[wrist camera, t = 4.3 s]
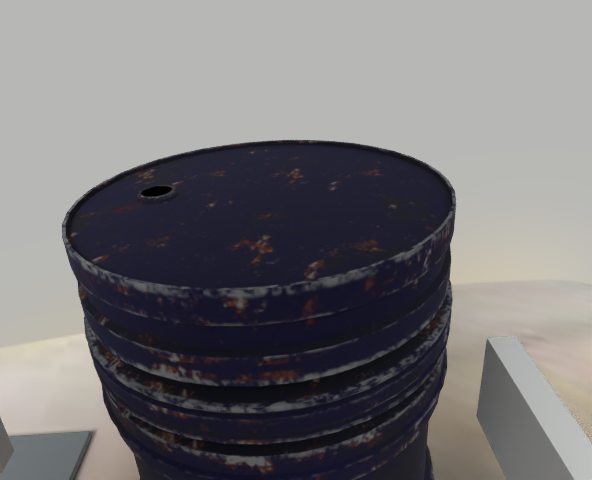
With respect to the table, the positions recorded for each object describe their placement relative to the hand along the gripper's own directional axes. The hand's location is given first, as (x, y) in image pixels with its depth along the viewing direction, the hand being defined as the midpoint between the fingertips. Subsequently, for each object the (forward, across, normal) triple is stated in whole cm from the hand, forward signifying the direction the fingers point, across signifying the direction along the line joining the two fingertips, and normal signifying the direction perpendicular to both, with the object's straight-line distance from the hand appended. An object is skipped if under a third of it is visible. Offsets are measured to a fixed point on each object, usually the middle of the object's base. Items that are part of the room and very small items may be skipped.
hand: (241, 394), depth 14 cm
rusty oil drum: (+2, +1, -10) cm, 10 cm away
